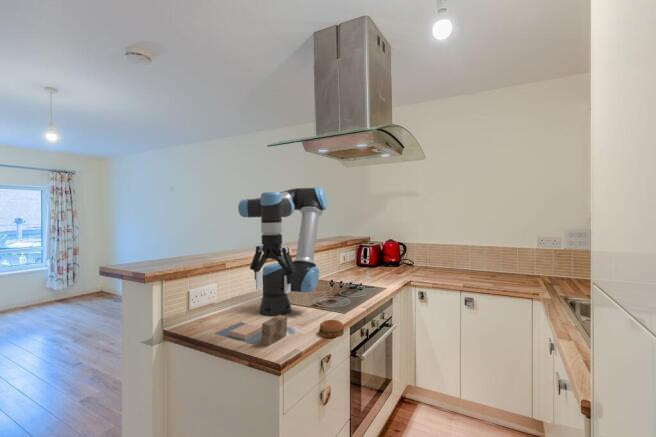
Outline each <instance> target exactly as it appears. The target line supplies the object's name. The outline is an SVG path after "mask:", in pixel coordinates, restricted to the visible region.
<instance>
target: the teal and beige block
mask: <svg viewBox="0 0 656 437" xmlns="http://www.w3.org/2000/svg"><path fill="white" fill-rule="evenodd" d="M261 332H262V326H259V325H254V324H251V323H247V324H245V325H242V326H240V327H238V328H236V329H233V330H231V331H230V337H234V338H238V339H241V340H247V339H249V338H251V337H253V336H255V335H257V334H259V333H261Z"/></svg>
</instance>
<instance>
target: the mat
mask: <svg viewBox="0 0 656 437" xmlns="http://www.w3.org/2000/svg"><path fill="white" fill-rule="evenodd" d="M245 324H248V322H247V323H246V322H241V321H240V322H237V323H235V324H232V325H230V326H228V327H225V328H223V329H221V330H219V331H217V332H214V334H215V335H218V336H222V337H225V338H229V339H232V340H237V341H241V342H244V343H247V344H251V345H258V344H261V339H262V332H261V333H259V334H257V335H255V336H253V337H251V338H249V339H247V340H241V339H238V338H234V337H230V331H231V330H233V329H236V328H238V327H240V326H242V325H245Z"/></svg>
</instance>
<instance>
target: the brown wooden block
mask: <svg viewBox="0 0 656 437" xmlns="http://www.w3.org/2000/svg"><path fill="white" fill-rule="evenodd" d="M287 324H288V316H285V315H278V316H273V317H272V318H270V319H268V320H266V321H264V322H262V323H261V325H262V326H261V327H262V339H261V342H260V345H264V346H267V347H269V346H271V345H273V344H274V343H276V342H278V341H280V340H282V339H284V338H285V337H290V336H292V335H294V334H296V333H297V332H299V331H301V330H302V329H300V328H298V327H295V326H291V325H287Z"/></svg>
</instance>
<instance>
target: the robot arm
mask: <svg viewBox="0 0 656 437" xmlns="http://www.w3.org/2000/svg"><path fill="white" fill-rule="evenodd" d="M327 198H328V197H327V193H326V191H325V189H324V188H323V187H316V186H314V187H299V188H297V187H296V188H291V189H287V190H283V191H279V192H277V191H271V192H270V191H267V192H262V193H261V194H260V197H257V198H253V199H252V198H246V199H241V200H240V201H239V202H238V205H237V206H238V207H237V208H238V213H239V215H240V216H241V217H243V218H248V219H249V218H260V221H261V223H260V224H261V225H260V226H261V227H260V229H261V231H260V232H261V245H258V246H255V253H254V256H253V258H252V260H251V264H250V266H249V269H250V270H252V271H253V272H254V280H255V290H260V289H262V298H261V302H260V305H259V310H258V311H259V314H260V315H262V316H265V317H276V316H278V315H283V316H285V315H287V314H291V312H292V304H291V301H290V299H289V296H288V294H289V293H291V292H295V293H303V294H305V293H312V292H313V291H315V290H316V288H317V286H318V283H319V279H320V270H319V268H318V267H317V264H316V262H315V261H314V259H315V251H316V244H317V242H316V241H317V236H318V235H317V234H318V228H319V227H318V225H319V219H320V216H322V215H323V211H326V210H327V208H328V199H327ZM295 211H299V213H300V214H301V220H300V228H299V234H298V240H297V249H296V255H295V259H292V257H291V256H292V255H291V254H290V248H289V247H288V246H286V247H282V244H283V234H282V231H283V227H282V226H283V225H282V218H287V217H290V216H292V215H293V213H294V212H295ZM270 259H271V260H275V261H277V262H276V263H271V264H266V265H265V263H266V262H267V261H268V260H270ZM264 265H265V266H264Z"/></svg>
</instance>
